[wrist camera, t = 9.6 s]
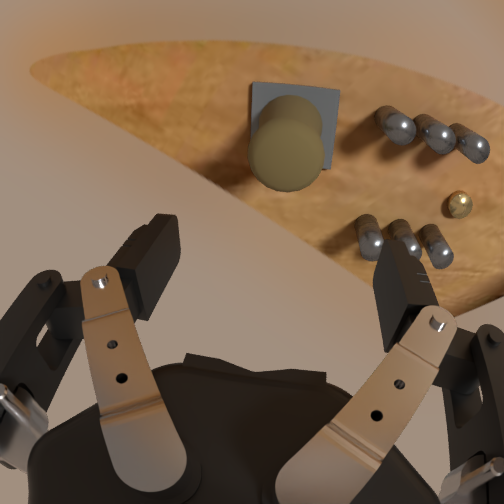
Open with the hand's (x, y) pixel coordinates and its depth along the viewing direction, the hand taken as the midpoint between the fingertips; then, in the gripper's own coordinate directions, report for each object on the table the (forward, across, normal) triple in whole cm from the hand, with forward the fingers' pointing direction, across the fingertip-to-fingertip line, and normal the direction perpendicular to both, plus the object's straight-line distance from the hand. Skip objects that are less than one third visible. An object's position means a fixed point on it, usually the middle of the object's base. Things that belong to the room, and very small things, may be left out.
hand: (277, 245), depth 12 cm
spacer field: (+21, -13, +4) cm, 25 cm away
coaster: (+21, 0, 0) cm, 21 cm away
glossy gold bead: (+21, -19, +5) cm, 29 cm away
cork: (+20, 0, 0) cm, 20 cm away
